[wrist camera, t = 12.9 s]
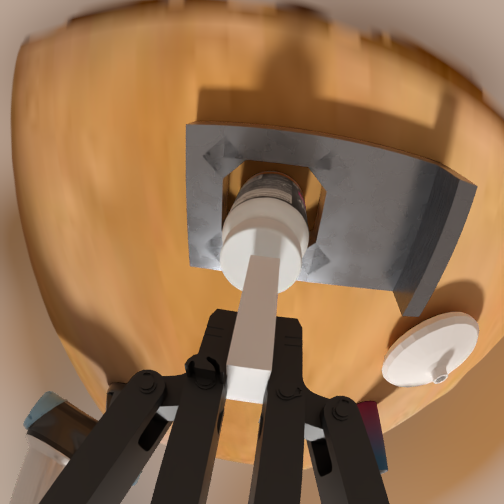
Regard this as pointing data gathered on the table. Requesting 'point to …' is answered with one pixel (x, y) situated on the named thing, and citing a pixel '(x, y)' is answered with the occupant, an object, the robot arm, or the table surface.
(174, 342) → the table surface
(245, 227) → the pill bottle
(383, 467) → the cup
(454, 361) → the lid
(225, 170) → the jig
